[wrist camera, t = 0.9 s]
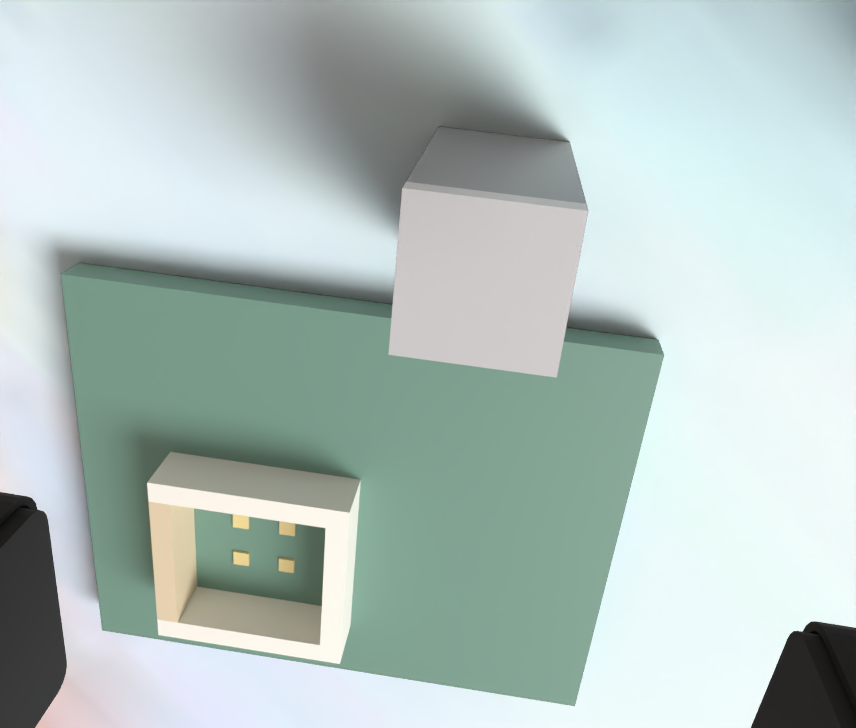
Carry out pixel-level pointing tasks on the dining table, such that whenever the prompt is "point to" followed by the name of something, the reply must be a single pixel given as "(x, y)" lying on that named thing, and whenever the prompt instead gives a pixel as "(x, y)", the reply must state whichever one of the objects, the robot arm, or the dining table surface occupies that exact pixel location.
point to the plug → (488, 252)
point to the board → (347, 483)
